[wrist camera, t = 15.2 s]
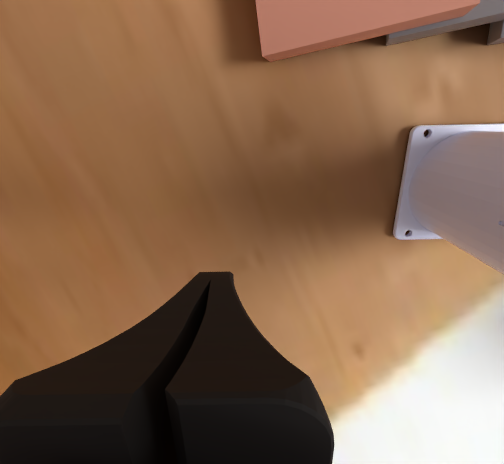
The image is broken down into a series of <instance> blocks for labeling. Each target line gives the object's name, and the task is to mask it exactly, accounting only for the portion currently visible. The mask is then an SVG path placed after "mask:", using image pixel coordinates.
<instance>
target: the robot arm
mask: <svg viewBox="0 0 504 464" xmlns="http://www.w3.org/2000/svg"><path fill="white" fill-rule="evenodd" d="M426 130H428V135H427V136H426V137H424V132H425V131H426ZM408 230H409V231H410V232H409V233H408V234H407V235H405V233H406V231H408ZM393 235H394V237H395V238H397V239H399V240H411V239H445V240H447V241H448V242H450V243H452V244H453V245H455V246H457V247H459V248H460V249H462V250H464V251H465V252H467V253H469V254H470V255H472V256H474V257H475V258H477V259H479V260H480V261H482V262H484V263H486V264H487V265H489V266H491V267H492V268H494V269H496V270H497V271H499V272H501V273H502V274H504V124H461V125H418V126H415V127H413V128H412V130H411V131H410V134H409V140H408V146H407V152H406V158H405V164H404V170H403V176H402V181H401V187H400V193H399V199H398V205H397V211H396V217H395V223H394V229H393ZM333 451H334V435H333V430H332V427H331V423H330V421H329V418H328V415H327V413H326V410H325V408H324V405H323V403H322V401H321V399H320V397H319V394H318V392H317V390H316V389H315V387H314V385H313V383H312V381H311V379H310V377H309V376H308V375H306V374H305V373H304V372H302V371H301V370H300V369H298V368H297V367H296V366H294V365H293V364H292V363H290V362H289V361H287V360H286V359H285V358H284V357H283V356H282V355H281V354H280V353H279V352H278V351H277V350H276V349H275V348H274V347H273V346H272V345H271V344H270V343H269V342H268V341H267V340H266V339H265V338H264V337H263V335H262V334H261V333H260V332H259V330H258V329H257V328H256V326H255V325H254V324H253V322H252V321H251V319H250V318H249V316H248V315H247V313H246V311H245V309H244V307H243V306H242V304H241V302H240V299H239V297H238V295H237V292H236V290H235V286H234V280H233V274H232V273H231V272H199V273H198V274H197V275H196V276H195V277H194V278H193V279H192V280H191V281H190V282H189V283H188V284H187V285H186V286H184V287H183V288H182V289H181V290H180V291H179V292H178V293H177V294H176V295H175V296H174V297H172V298H171V299H170V300H169V301H167V302H166V303H165V304H164V305H163V306H161V307H160V308H159V309H158V310H156V311H155V312H154V313H152V314H151V315H150V316H148V317H147V318H145V319H144V320H142V321H141V322H139V323H138V324H136V325H135V326H133V327H132V328H130V329H128V330H127V331H125V332H123V333H121V334H119V335H118V336H116V337H114V338H112V339H111V340H109V341H107V342H105V343H103V344H101V345H99V346H97V347H95V348H93V349H91V350H89V351H87V352H85V353H83V354H80V355H78V356H76V357H74V358H72V359H69V360H67V361H65V362H62V363H60V364H57V365H55V366H52V367H50V368H47V369H44V370H42V371H39V372H37V373H34V374H31V375H29V376H26V377H23V378H21V379H18V380H15V381H14V382H13V383H12V384H11V385H10V386H9V387H8V389H7V390H6V391H5V392H4V393H3V394H2V395H1V396H0V464H332V459H333Z"/></svg>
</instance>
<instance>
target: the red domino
mask: <svg viewBox="0 0 504 464" xmlns="http://www.w3.org/2000/svg"><path fill="white" fill-rule="evenodd" d="M255 1H256V9H257V17H258V25H259V34H260V42H261V50H262V57H264V58H265V59H267V60H269V61H270V62H272V61H276V60H281V59H285V58H289V57H293V56H298V55H302V54H306V53H310V52H315V51H319V50H323V49H327V48H332V47H336V46H340V45H344V44H348V43H353V42H357V41H361V40H365V39H370V38H374V37H378V36H382V35H387V34H391V33H395V32H399V31H403V30H408V29H412V28H416V27H420V26H425V25H429V24H433V23H437V22H442V21H446V20H450V19H454V18H459V17H463V16H464V15H465V14H467V13H468V12H469V11H471V10H472V9H473V8H474V7H476V6H477V5H478V4H479V3H480V0H255Z"/></svg>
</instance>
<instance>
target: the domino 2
mask: <svg viewBox="0 0 504 464" xmlns="http://www.w3.org/2000/svg"><path fill="white" fill-rule="evenodd" d="M498 43H504V20H501V21H496V22H492V23H490V29H489V35H488V41H487V45H492V44H498Z"/></svg>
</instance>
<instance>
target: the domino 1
mask: <svg viewBox="0 0 504 464" xmlns="http://www.w3.org/2000/svg"><path fill="white" fill-rule="evenodd" d="M501 20H504V0H480V3H479V4H478V5H477V6H476V7H474V8H473V9H472V10H471V11H469V12H468V13H467V14H465V15H464V16H463V17H459V18H454V19H450V20H446V21H442V22H437V23H433V24H429V25H425V26H420V27H416V28H412V29H408V30H403V31H399V32H395V33H391V34H387V35H386V46H388V45H392V44H397V43H401V42H406V41H410V40H415V39H420V38H424V37H429V36H433V35H438V34H442V33H447V32H451V31H456V30H460V29H465V28H469V27H474V26H478V25H483V24H487V23H492V22H496V21H501Z"/></svg>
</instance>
